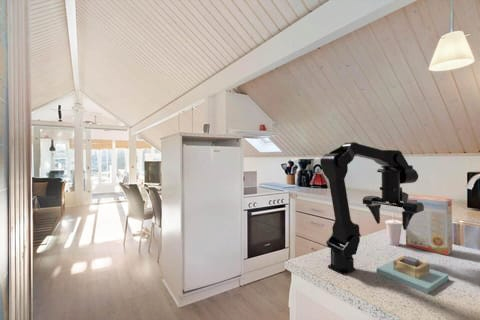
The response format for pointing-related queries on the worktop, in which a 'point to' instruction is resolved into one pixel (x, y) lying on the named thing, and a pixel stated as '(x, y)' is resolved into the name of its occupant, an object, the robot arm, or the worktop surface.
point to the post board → (422, 284)
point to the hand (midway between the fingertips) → (391, 226)
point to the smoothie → (394, 231)
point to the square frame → (411, 268)
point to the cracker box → (431, 225)
